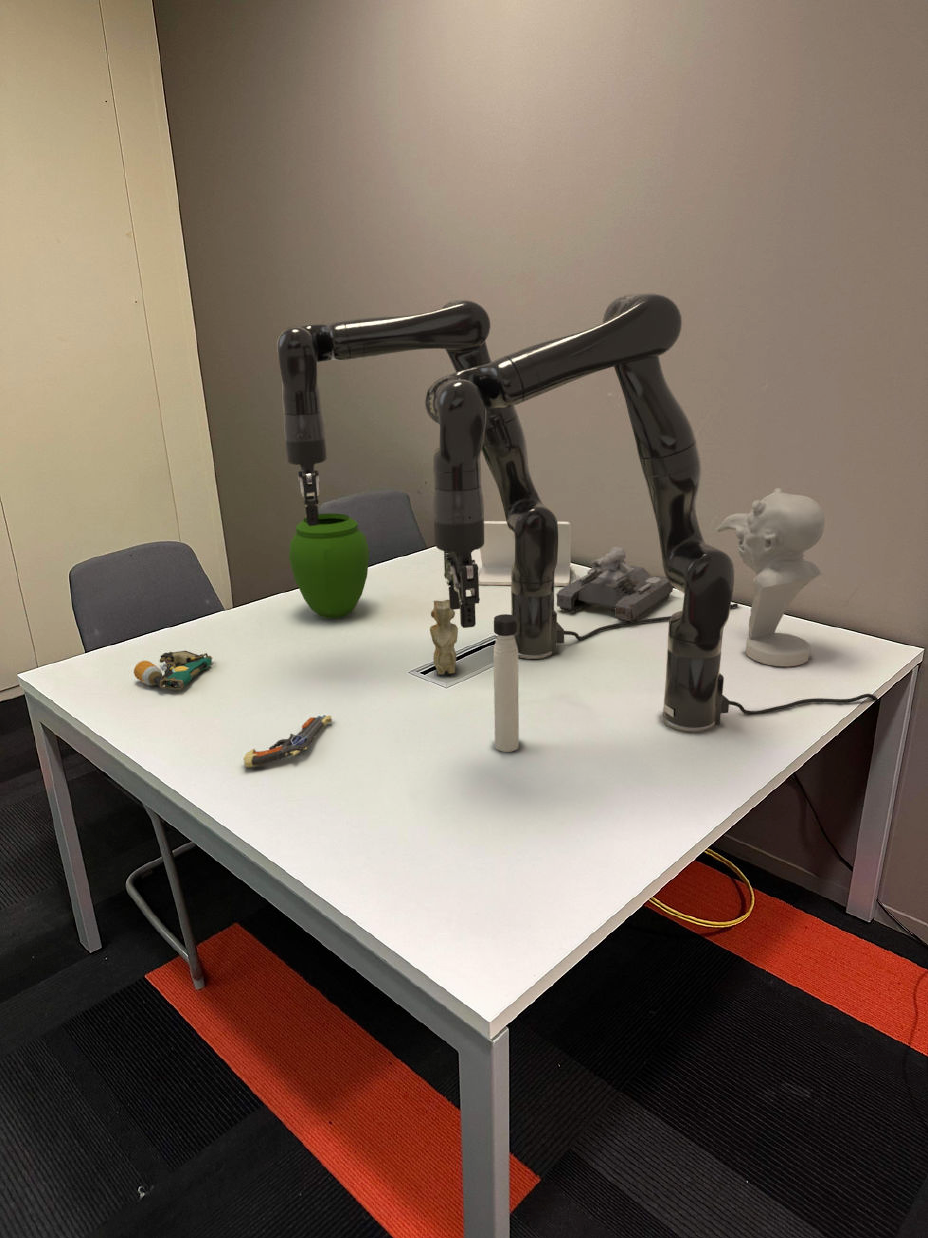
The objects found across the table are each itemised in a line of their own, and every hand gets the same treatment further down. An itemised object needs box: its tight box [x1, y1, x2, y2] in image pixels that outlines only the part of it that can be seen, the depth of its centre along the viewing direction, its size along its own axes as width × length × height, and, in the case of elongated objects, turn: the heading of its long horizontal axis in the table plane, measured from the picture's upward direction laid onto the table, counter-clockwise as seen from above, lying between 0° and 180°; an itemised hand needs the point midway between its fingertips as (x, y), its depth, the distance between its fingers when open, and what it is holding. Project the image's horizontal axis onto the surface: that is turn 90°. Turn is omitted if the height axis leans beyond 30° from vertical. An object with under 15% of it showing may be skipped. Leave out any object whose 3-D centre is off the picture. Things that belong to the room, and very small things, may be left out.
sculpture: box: [429, 599, 459, 675], centre depth 177 cm, size 6×7×15 cm
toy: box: [556, 546, 674, 623], centre depth 212 cm, size 25×20×15 cm
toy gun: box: [243, 714, 333, 769], centre depth 151 cm, size 3×19×10 cm
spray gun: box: [133, 650, 213, 690], centre depth 180 cm, size 4×17×15 cm
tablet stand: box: [478, 520, 572, 587], centre depth 236 cm, size 18×25×17 cm
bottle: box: [493, 635, 520, 753], centre depth 145 cm, size 4×4×24 cm
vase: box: [288, 512, 370, 620], centre depth 209 cm, size 20×20×24 cm
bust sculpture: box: [715, 487, 826, 667], centre depth 180 cm, size 16×24×35 cm
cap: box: [493, 613, 517, 636], centre depth 141 cm, size 4×4×2 cm
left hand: (312, 520), depth 168 cm, fingers open, 8 cm apart
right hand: (462, 617), depth 133 cm, fingers open, 8 cm apart
